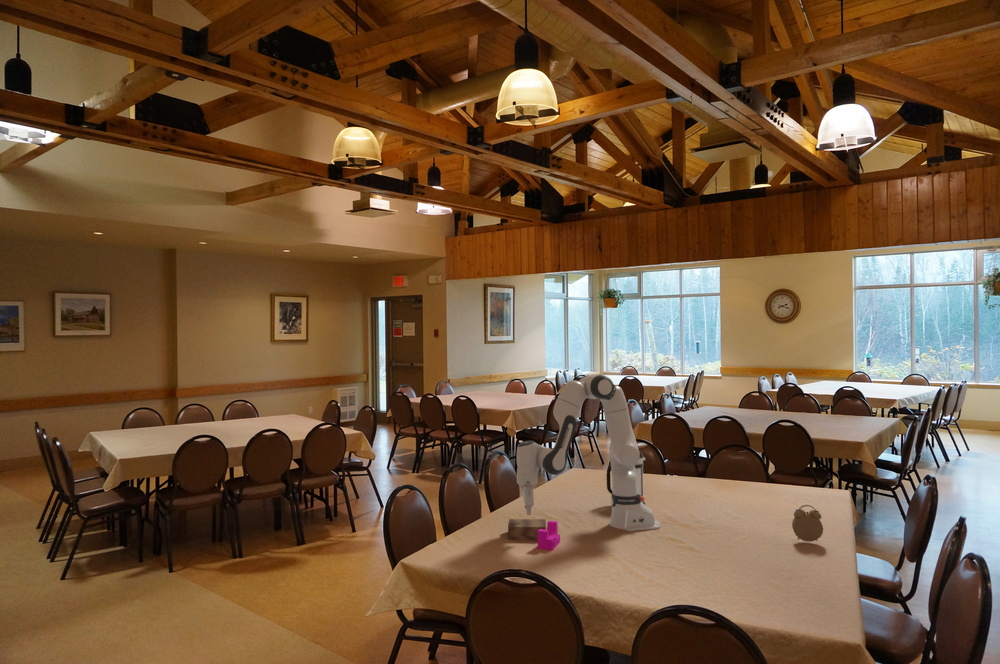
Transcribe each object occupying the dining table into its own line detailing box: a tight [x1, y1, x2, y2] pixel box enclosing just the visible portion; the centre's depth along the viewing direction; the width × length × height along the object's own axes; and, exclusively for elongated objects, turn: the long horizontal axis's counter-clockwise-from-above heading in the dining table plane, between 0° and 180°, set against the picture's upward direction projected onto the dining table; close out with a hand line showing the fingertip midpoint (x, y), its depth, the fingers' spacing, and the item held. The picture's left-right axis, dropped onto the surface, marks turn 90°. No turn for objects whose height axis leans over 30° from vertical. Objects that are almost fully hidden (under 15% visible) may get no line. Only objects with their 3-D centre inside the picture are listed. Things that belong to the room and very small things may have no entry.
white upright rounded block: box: [606, 450, 647, 505], centre depth 315 cm, size 17×16×30 cm
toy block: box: [537, 520, 561, 551], centre depth 257 cm, size 15×6×8 cm, turn 158°
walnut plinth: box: [507, 518, 547, 541], centre depth 267 cm, size 16×11×6 cm
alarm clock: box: [791, 504, 824, 543], centre depth 255 cm, size 11×5×15 cm, turn 73°
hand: (527, 511), depth 266 cm, fingers open, 8 cm apart
